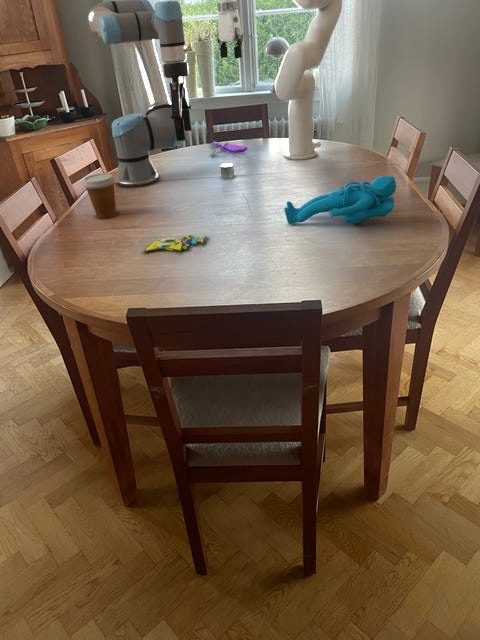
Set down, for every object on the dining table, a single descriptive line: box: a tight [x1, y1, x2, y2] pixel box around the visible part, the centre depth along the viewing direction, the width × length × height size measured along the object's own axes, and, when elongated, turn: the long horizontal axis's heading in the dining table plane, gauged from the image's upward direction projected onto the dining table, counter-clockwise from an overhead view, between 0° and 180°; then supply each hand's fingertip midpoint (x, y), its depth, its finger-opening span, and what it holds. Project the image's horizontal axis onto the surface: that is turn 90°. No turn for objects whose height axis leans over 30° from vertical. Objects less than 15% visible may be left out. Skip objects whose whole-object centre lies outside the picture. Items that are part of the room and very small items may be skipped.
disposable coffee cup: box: [83, 172, 117, 219], centre depth 152 cm, size 10×10×12 cm
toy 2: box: [283, 175, 397, 225], centre depth 132 cm, size 17×11×30 cm
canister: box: [220, 162, 235, 180], centre depth 179 cm, size 5×5×4 cm
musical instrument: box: [210, 141, 248, 157], centre depth 213 cm, size 24×2×20 cm
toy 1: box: [144, 234, 207, 254], centre depth 130 cm, size 10×1×15 cm
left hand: (184, 135), depth 157 cm, fingers open, 13 cm apart
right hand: (231, 57), depth 197 cm, fingers open, 9 cm apart
